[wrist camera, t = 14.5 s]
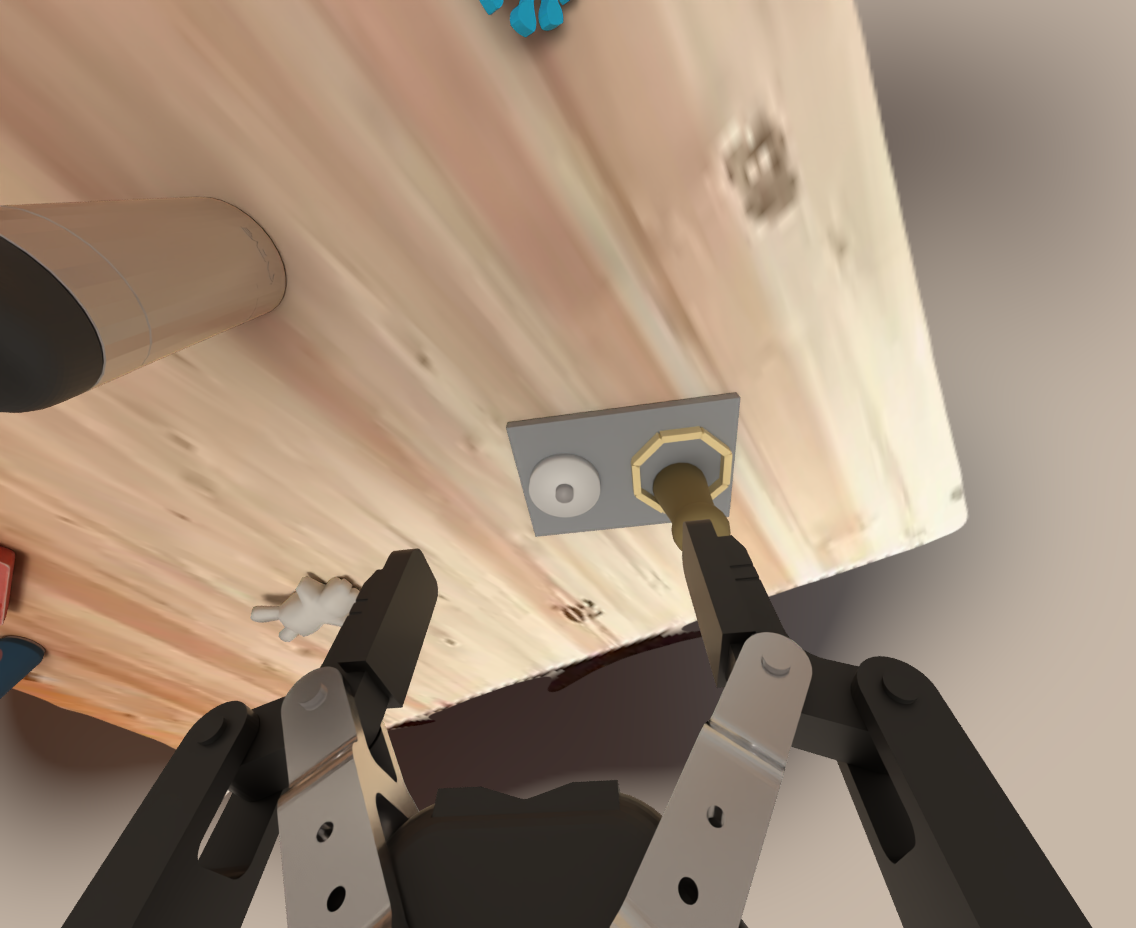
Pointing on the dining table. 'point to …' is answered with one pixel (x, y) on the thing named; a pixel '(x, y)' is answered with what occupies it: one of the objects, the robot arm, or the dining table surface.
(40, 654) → the soda can
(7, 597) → the plant saucer
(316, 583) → the bunny figurine
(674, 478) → the cork
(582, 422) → the board
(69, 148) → the dining table surface
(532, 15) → the blue irregular piece
